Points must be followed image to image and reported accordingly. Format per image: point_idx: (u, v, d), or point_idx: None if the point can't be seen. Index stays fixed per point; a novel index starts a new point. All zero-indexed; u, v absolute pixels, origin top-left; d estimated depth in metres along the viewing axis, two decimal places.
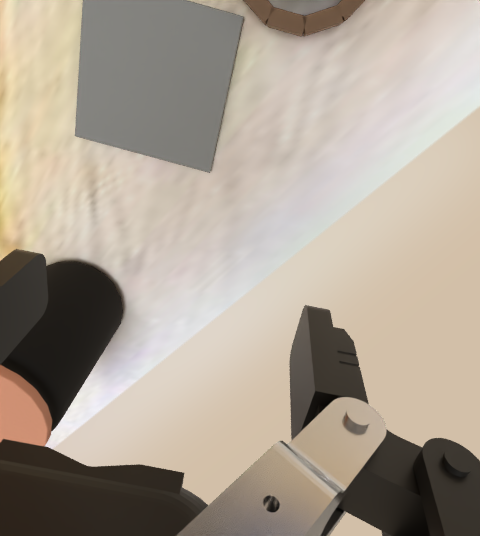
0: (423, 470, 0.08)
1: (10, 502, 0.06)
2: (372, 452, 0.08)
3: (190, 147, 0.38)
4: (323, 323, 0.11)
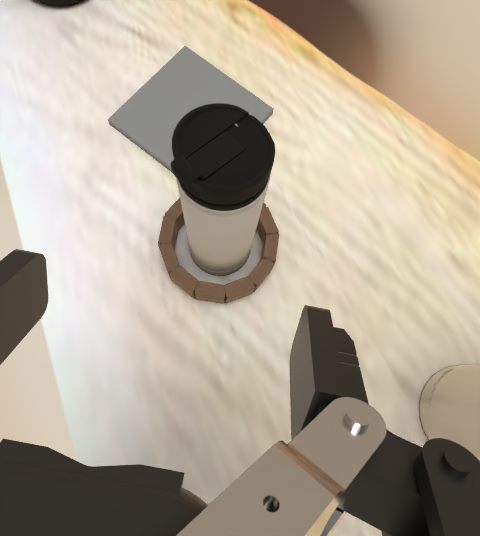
0: (423, 470, 0.08)
1: (10, 502, 0.06)
2: (372, 452, 0.08)
3: (133, 115, 0.46)
4: (323, 323, 0.11)
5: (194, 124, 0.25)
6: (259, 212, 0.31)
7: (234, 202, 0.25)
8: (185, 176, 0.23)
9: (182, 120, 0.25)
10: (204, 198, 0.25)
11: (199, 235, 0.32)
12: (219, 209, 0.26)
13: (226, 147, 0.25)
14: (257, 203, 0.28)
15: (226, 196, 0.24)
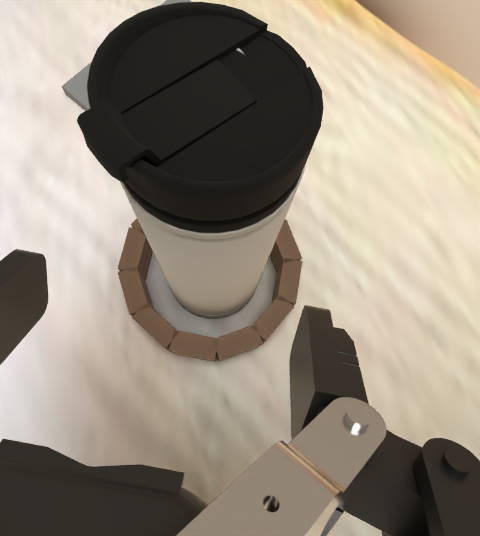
0: (423, 470, 0.08)
1: (10, 502, 0.06)
2: (372, 452, 0.08)
3: None
4: (323, 323, 0.11)
5: (147, 43, 0.12)
6: (277, 233, 0.17)
7: (229, 217, 0.12)
8: (109, 151, 0.10)
9: (118, 30, 0.11)
10: (163, 205, 0.11)
11: (170, 269, 0.18)
12: (198, 229, 0.12)
13: (216, 94, 0.11)
14: (277, 218, 0.14)
15: (209, 203, 0.11)
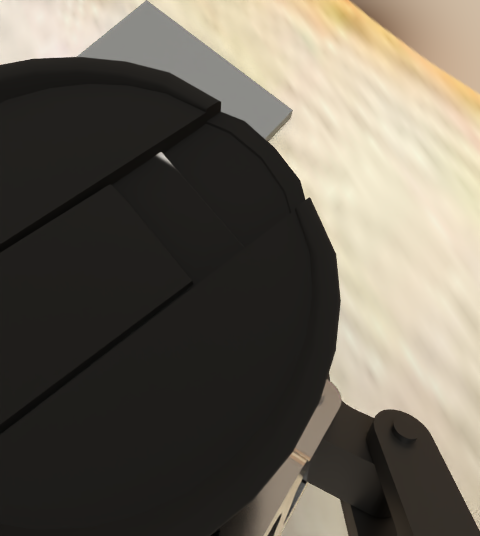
0: (376, 442, 0.08)
1: None
2: (325, 421, 0.08)
3: None
4: None
5: None
6: None
7: None
8: None
9: None
10: None
11: None
12: None
13: (100, 270, 0.05)
14: None
15: None
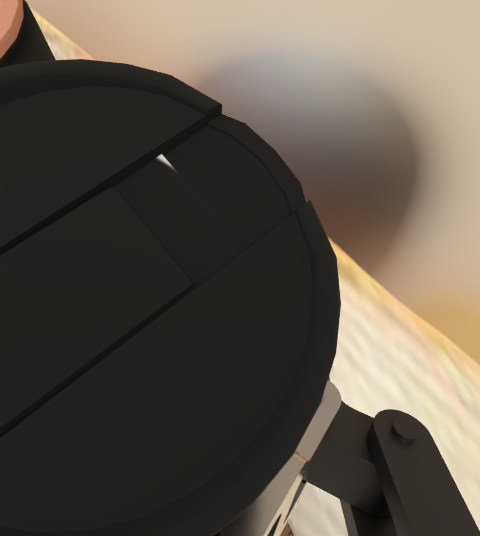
0: (375, 442, 0.08)
1: None
2: (325, 421, 0.08)
3: None
4: None
5: None
6: None
7: None
8: None
9: None
10: None
11: None
12: None
13: (100, 273, 0.05)
14: None
15: None
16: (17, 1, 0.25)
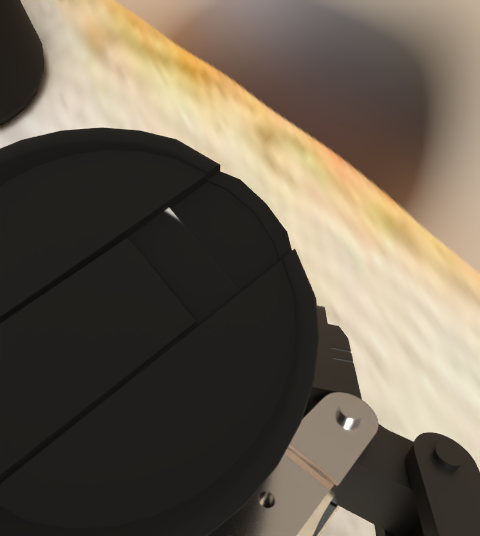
0: (415, 465, 0.08)
1: None
2: (364, 446, 0.08)
3: None
4: (318, 320, 0.11)
5: None
6: None
7: None
8: None
9: None
10: None
11: None
12: None
13: (119, 313, 0.06)
14: None
15: None
16: None
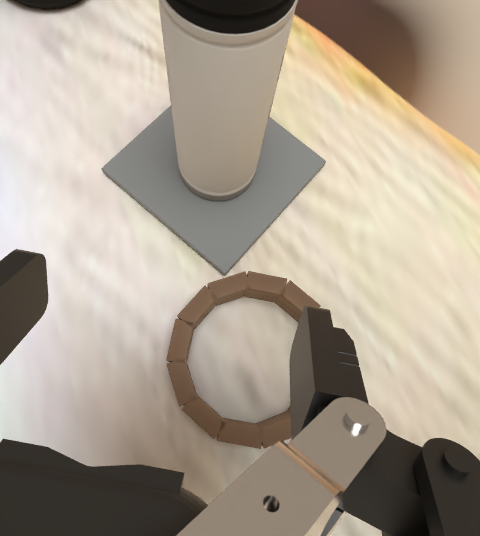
0: (423, 470, 0.08)
1: (10, 502, 0.06)
2: (372, 452, 0.08)
3: (137, 164, 0.34)
4: (323, 323, 0.11)
5: None
6: (276, 73, 0.22)
7: (245, 9, 0.16)
8: None
9: None
10: None
11: (190, 111, 0.23)
12: (221, 27, 0.17)
13: None
14: (277, 37, 0.19)
15: None
16: None
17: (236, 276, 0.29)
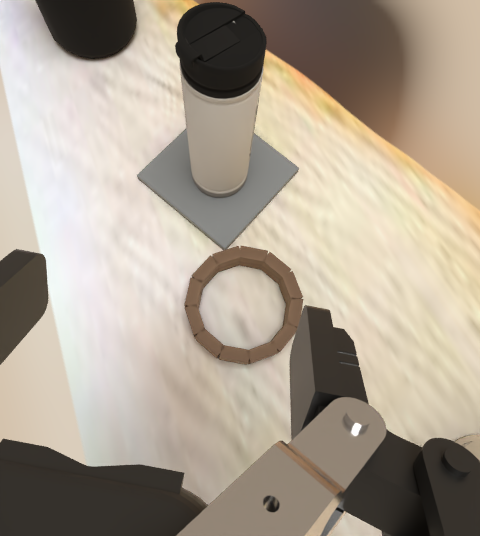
0: (423, 470, 0.08)
1: (10, 502, 0.06)
2: (372, 452, 0.08)
3: (162, 171, 0.47)
4: (323, 323, 0.11)
5: (197, 18, 0.29)
6: (253, 115, 0.35)
7: (229, 87, 0.29)
8: (187, 55, 0.27)
9: (187, 13, 0.29)
10: (203, 82, 0.29)
11: (199, 138, 0.36)
12: (217, 95, 0.30)
13: (224, 38, 0.29)
14: (250, 97, 0.32)
15: (222, 77, 0.28)
16: None
17: (232, 249, 0.43)
